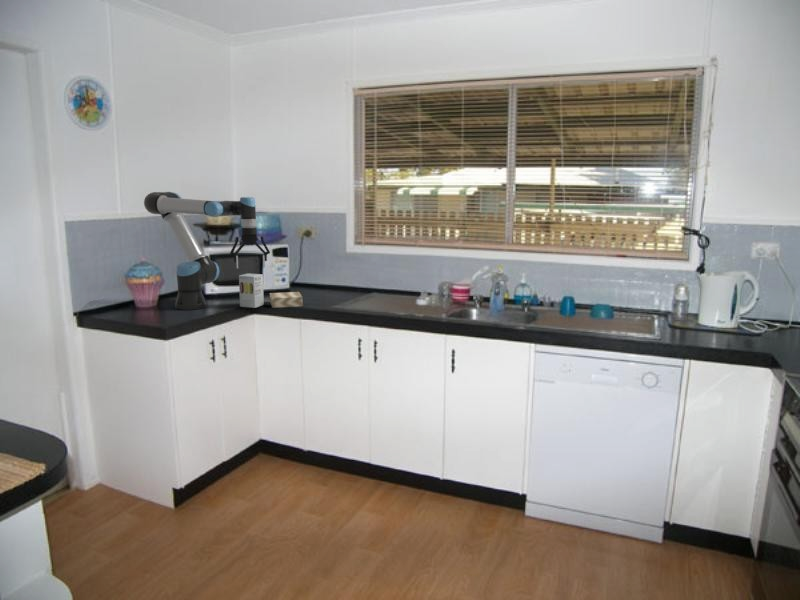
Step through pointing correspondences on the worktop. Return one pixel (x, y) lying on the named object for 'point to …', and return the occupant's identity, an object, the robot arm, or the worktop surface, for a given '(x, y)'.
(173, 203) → the robot arm
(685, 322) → the worktop surface
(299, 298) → the block
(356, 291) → the worktop surface
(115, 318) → the worktop surface
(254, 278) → the supplement box
